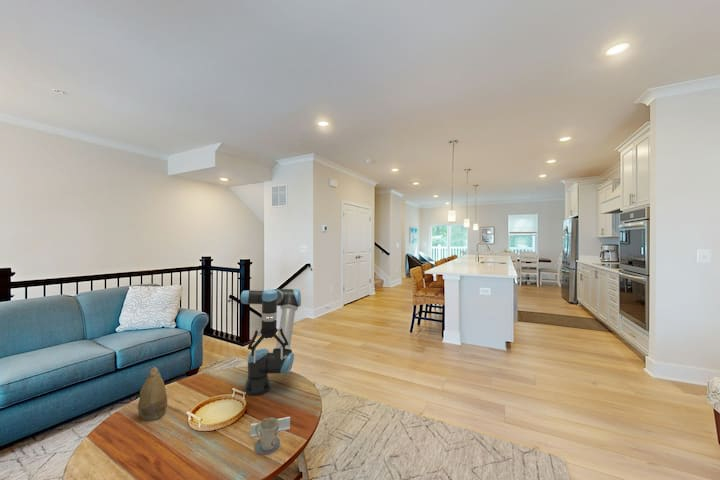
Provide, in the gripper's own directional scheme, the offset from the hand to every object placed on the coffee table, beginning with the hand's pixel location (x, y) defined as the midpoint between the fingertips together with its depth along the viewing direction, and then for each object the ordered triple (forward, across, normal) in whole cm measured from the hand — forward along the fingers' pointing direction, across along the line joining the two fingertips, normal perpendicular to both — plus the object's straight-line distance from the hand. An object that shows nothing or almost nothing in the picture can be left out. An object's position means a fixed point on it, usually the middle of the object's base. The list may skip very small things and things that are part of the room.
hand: (268, 360), depth 149 cm
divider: (+29, +1, -14) cm, 32 cm away
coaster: (+29, -1, -23) cm, 37 cm away
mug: (+28, -2, -23) cm, 36 cm away
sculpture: (+29, -55, +18) cm, 65 cm away
